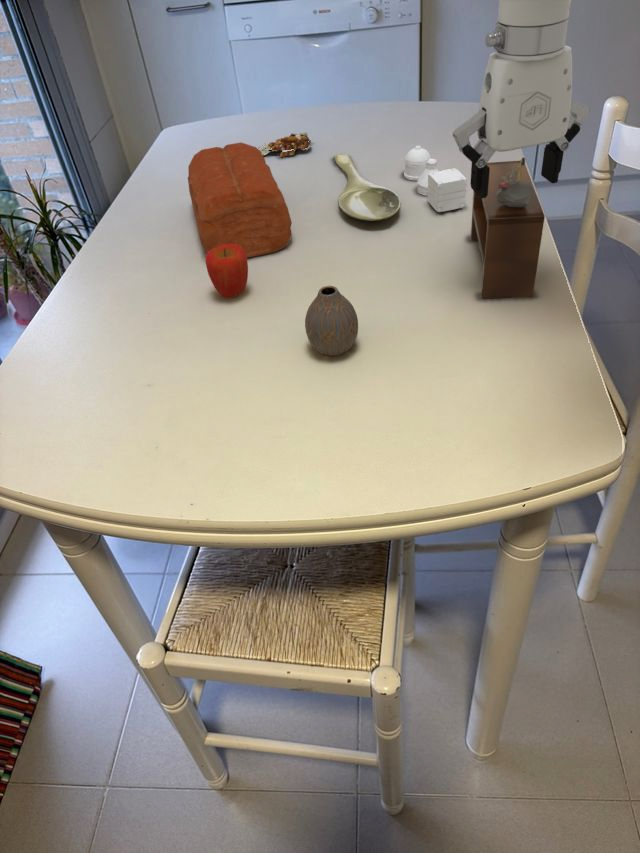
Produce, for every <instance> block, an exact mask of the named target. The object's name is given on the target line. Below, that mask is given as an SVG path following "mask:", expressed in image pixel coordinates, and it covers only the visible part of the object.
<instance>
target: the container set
mask: <svg viewBox="0 0 640 853" xmlns="http://www.w3.org/2000/svg"><path fill="white" fill-rule="evenodd" d="M403 177H404V178H405V179H407V180H409V181H417V193H418V194H420V195H422V196H427V201H428V203H429V204H430V205H431V207H432V208H433V209H434V210H435V211H436V212H438V213H442V212H447V211H452V210H457V209H463V208H464V207H465V205H466V196H467V183H468V182H467V178H466V177H465V176H464V174H463V173H461V172H460V170H459V169H458V168H454V167H453V168H448V169H443V170H439V169H438V161H437V159H436V158H432V157H431V155H430V153H429V151H428V150H426V149H425V148H423V147H421V145H415V146H414V148H412V149H410V150H409V151H408V152H407V153H406V155H405V157H404V172H403Z"/></svg>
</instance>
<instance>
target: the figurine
mask: <svg viewBox="0 0 640 853" xmlns="http://www.w3.org/2000/svg"><path fill="white" fill-rule="evenodd" d="M519 161H520V163H519V165H518V166H514V167H515V168H516V167H518V168H516V169H518V170H517V172H516V173H513V174H512V173H511V172H510V173H511V174H510V175H509V176H510V177H509V178H505V177H506V176H503V177H504V178H503V177H502V178H503V179H504V181H506V180H505V179H508V181H506V182H500V184H499V186H498V188H499V189H498V191H497V200H498V202H499V203H504V204H505V205H507V206H508V207H525V206H526V205H527V203H528V202H529V201H530V196H531V193H532V190H533V188H532V186H531V184H529V183H526V182H523V181H520V180H521V174H522V167H521V166H523V165H526V158H525V157H522V158H521V159H520V160H519ZM515 168H514V169H513V171H514V170H516V169H515ZM513 171H512V172H513ZM508 174H509V173H508ZM515 174H516V175H515ZM506 175H507V174H506Z"/></svg>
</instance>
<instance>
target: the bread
mask: <svg viewBox="0 0 640 853" xmlns="http://www.w3.org/2000/svg"><path fill="white" fill-rule="evenodd" d="M187 168H188V169H187V170H188V171H187V172H188V177H187V182H188V192H189V197H190V200H191V201H190V202H191V204H192V205H191V206H192V210H193V215H194V219H195V224H196V228H197V233H198V236H199V239H200V242H201V246H202V248H203V250H205V251H206V252H207V253H208V252H209V251H210V250H211V249H213V248H215V247H218V246H220V245H222V244H236V245H238V246H241V247H242V248H243V250H244V251H245V253H246V257H247V259H248V258H251V257H258V256H262V255H267V254H271V253H276V252H278V251H280V250H282V249H285V248H286V247H287V245H288V243H289V241H290V239H291V237H292V236H293V235H292V234H293V233H292V228H291V227H292V224H293V222H292V219H291V215H290V210H289V208H288V205H287V202H286V200H285V197H284V194H283V193H282V191H281V189H280V188H279V185H278V183H277V181H276V180H275V178H274V176H273V173H272V171H271V170H272V169H271V167H270V166H269V165H268V163H267V162H266V158H265V157H264V155H262V153H261V151H260V150H258V148H257V147H256V146H254V145H251V144H247V143H244V142H241V141H240V142H236V143H228V144H226V145H225V146H223V147H220V146H215V147H209V148H203V149H201V150H199V151H198V152H196V153H195V154H194V155H193V157H192V159H191V161H190V163H189V164H188V166H187Z"/></svg>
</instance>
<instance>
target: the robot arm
mask: <svg viewBox="0 0 640 853" xmlns="http://www.w3.org/2000/svg"><path fill="white" fill-rule="evenodd" d="M571 5H572V0H498V10H497V12H498V14H497V22H495V30H493V31H492V32H489V33H486V35H485V46H486V47H487V48H490V47H491V48H493V49H494V52H491V53H490V55H489V58H488V61H487V65H486V69H485V73H484V77H483V82H482V88H481V94H480V100H479V107H478V112H477V113H475V114H474V115H472V117H469V119H467V120H466V121H465V122H463V123H462V124H460V125H459V126H458V127H456V128H455V129H454V130H453V132H452V137H453V139H454V141H455V143H456V145H457V147H458V150H459V152H460V153H461V154H462V155H463V156H465V158H466V159H468V160H469V161H470V162H471V168H470V169H471V170H470V184H469V185H470V188H471V190H472V191H473V193H474V192H475V193H476V194H477V195H478V196H480V197H481V198H486V196H487V195H488V184H489V172H490V168H489V167H488V166H487V165H486V163H489V161H490V159H491V158H492V157H493V155H494V154H495V153H496V152H498V153H502V152H511V151H514V150H520V149H525V148H529V147H535V146H540V145H545V147H544V148H543V149H544V150H543V158H542V163H541V171H540V175H541V177H543V178H544V179H545V180H546V181H548V182H549V183H551V184H557V183H558V181H559V176H560V173H561V172H562V166H563V159H564V153H565V151H568V149H569V148H570V143H571V142H572V141H573V139H575V138H576V136H577V135H578V134H579V133H580V131H581V127H582V126H583V124H584V122H585V121H586V119H587V117H588V116H589V114H590V108H589V107H588V106H587V105H585V104H584V103H583V104H582V103H580V102H578V101H577V100H574V99H572V98H573V97H572V96H573V55H572V47H571V46H569V45H566V41H567V33H568V25H569V19H570V18H569V16H570V12H571ZM476 132H477V137H478V140H477V141H476V143H475V144H474V146H473V147H472V144H471V142H470V138H471V136H472V135H473V134H475V133H476Z"/></svg>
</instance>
